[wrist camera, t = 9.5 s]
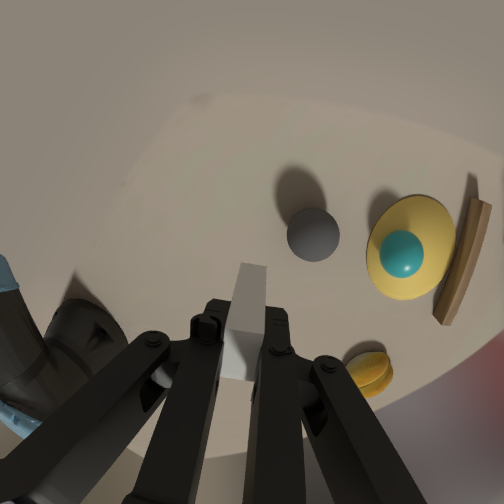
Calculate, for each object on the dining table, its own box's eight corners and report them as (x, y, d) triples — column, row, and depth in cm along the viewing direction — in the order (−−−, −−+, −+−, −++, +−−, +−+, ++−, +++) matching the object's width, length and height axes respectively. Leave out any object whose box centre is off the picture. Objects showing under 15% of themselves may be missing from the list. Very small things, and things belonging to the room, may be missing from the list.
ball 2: (396, 288, 26) (423, 284, 27) (412, 238, 24) (437, 240, 26) (364, 266, 30) (393, 265, 32) (376, 221, 28) (405, 225, 30)
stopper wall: (432, 314, 34) (441, 325, 31) (470, 196, 27) (483, 201, 24) (441, 315, 33) (450, 325, 31) (479, 200, 27) (492, 205, 24)
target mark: (353, 293, 33) (353, 294, 33) (381, 184, 28) (382, 184, 28) (435, 302, 33) (435, 303, 33) (465, 210, 28) (466, 210, 28)
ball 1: (334, 273, 26) (334, 256, 31) (344, 217, 24) (342, 209, 29) (279, 263, 27) (288, 248, 32) (285, 208, 25) (294, 202, 30)
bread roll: (380, 340, 36) (389, 357, 32) (393, 372, 38) (401, 389, 34) (331, 364, 38) (335, 383, 34) (350, 394, 40) (354, 411, 36)
